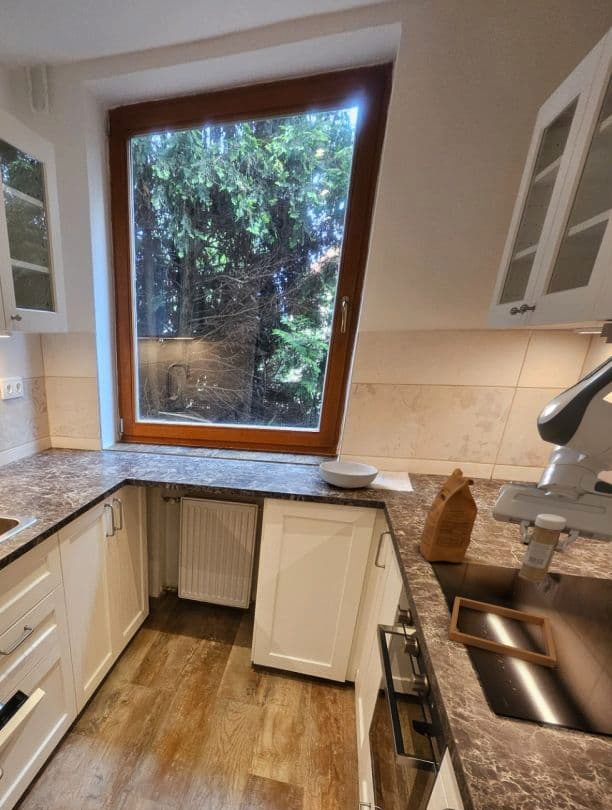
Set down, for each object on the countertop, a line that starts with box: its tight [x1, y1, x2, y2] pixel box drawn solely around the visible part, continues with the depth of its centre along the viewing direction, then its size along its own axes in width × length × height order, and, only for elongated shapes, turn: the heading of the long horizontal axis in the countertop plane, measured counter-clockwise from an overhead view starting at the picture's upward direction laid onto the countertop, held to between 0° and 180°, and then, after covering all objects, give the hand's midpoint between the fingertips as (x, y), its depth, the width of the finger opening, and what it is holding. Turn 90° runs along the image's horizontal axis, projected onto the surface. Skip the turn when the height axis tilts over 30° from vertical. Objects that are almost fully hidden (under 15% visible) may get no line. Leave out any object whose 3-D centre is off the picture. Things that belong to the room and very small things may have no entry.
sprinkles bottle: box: [518, 514, 566, 584], centre depth 94 cm, size 5×5×13 cm
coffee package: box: [419, 467, 479, 563], centre depth 118 cm, size 10×12×22 cm
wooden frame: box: [447, 596, 558, 669], centre depth 89 cm, size 16×16×3 cm
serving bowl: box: [318, 460, 379, 489], centre depth 179 cm, size 21×21×7 cm
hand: (541, 547), depth 93 cm, fingers closed on sprinkles bottle, 4 cm apart
